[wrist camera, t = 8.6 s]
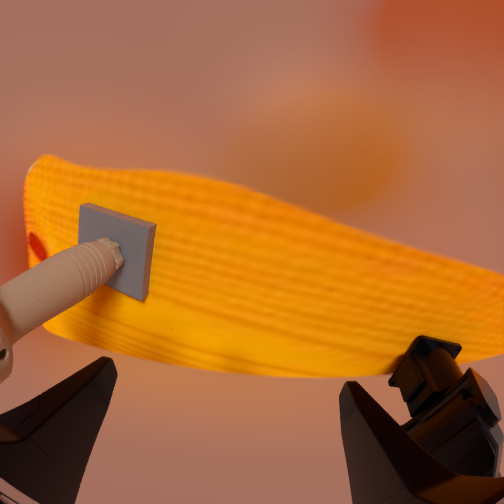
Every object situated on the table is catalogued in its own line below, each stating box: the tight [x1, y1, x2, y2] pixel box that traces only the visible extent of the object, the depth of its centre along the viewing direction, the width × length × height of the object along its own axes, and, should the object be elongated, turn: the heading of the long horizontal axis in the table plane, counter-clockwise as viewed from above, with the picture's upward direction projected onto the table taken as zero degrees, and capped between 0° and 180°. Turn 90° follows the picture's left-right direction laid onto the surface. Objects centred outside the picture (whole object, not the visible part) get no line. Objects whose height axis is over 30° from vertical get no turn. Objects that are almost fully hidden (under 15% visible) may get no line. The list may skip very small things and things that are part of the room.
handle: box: [0, 238, 124, 384], centre depth 15 cm, size 5×6×15 cm
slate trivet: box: [78, 203, 156, 301], centre depth 22 cm, size 8×7×1 cm
